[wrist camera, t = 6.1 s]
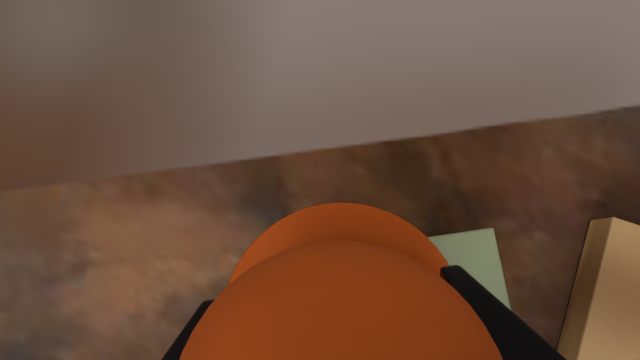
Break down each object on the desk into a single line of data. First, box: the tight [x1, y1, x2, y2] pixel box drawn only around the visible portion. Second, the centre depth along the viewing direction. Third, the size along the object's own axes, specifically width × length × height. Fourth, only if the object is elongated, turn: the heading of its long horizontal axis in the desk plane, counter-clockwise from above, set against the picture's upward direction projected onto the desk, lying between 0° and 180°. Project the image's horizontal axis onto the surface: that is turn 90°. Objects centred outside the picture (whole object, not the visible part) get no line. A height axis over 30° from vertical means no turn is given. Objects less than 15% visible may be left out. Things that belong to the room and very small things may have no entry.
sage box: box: [427, 228, 511, 310], centre depth 20 cm, size 5×9×4 cm, turn 98°
